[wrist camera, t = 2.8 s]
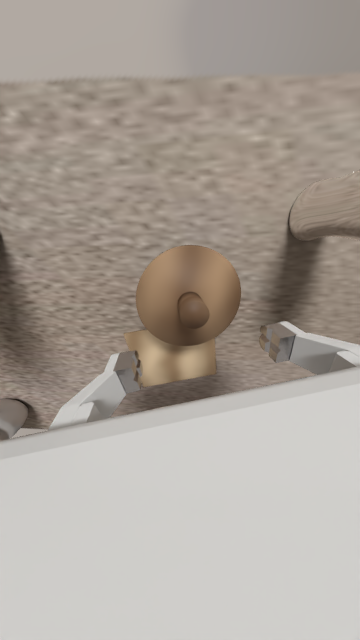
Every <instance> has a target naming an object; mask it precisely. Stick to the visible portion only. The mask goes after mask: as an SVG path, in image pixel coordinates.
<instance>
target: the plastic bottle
mask: <svg viewBox="0 0 360 640" xmlns="http://www.w3.org/2000/svg"><path fill="white" fill-rule="evenodd" d="M27 417H28V408H27V407H26V406H25V405H24V404H23V403H21V402H19V401H16V400H12V399H1V400H0V441H2V440H6V439H10V438H11V437H12V436H13V435H14V434H15V433H16V432H17V431H18V430H19V429H20V428H21V427H22V426H23V424H24V422H25V420H26V419H27Z"/></svg>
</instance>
